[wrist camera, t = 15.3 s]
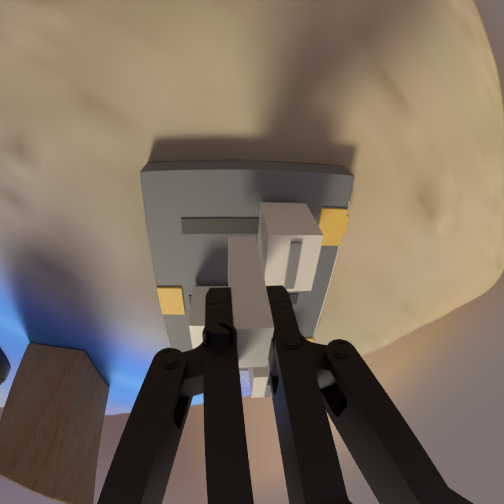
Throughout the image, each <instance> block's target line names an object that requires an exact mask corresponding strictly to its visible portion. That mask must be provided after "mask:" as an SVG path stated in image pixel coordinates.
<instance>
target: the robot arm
mask: <svg viewBox="0 0 504 504" xmlns="http://www.w3.org/2000/svg"><path fill="white" fill-rule="evenodd" d="M228 284H229V287H219V288H210V289H209V290H208V292H207V293H206V297H205V327H204V328H203V332H202V338H203V342H202V343H201V344H200V345H199V346H198V347H196V348H194V349H192V350H189V351H185V352H181V351H180V350H178V349H175V348H166V349H162V350H161V351H159V352H158V353H157V354H156V355H155V356H154V358H153V360H152V363H151V365H150V367H149V370H148V372H147V374H146V377H145V379H144V382H143V384H142V386H141V389H140V391H139V394H138V396H137V398H136V401H135V403H134V406H133V408H132V411H131V413H130V416H129V418H128V421H127V423H126V426H125V429H124V431H123V434H122V436H121V439H120V442H119V444H118V447H117V450H116V452H115V455H114V458H113V460H112V463H111V466H110V469H109V471H108V474H107V477H106V480H105V483H104V485H103V488H102V491H101V494H100V497H99V500H98V503H97V504H162V501H163V497H164V494H165V491H166V487H167V483H168V480H169V476H170V473H171V469H172V465H173V462H174V459H175V455H176V452H177V449H178V445H179V441H180V438H181V434H182V431H183V428H184V424H185V421H186V418H187V414H188V411H189V407H190V404H191V401H192V398H193V396H195V395H198V394H201V393H204V434H205V460H206V480H207V496H208V504H254V501H253V493H252V485H251V478H250V469H249V460H248V451H247V442H246V433H245V424H244V414H243V405H242V394H241V384H240V373H239V368H247V367H265V366H268V361H269V367H270V372H269V377H268V383H267V385H270V387H271V393H272V399H273V405H274V412H275V418H276V424H277V430H278V436H279V442H280V449H281V455H282V461H283V467H284V474H285V480H286V486H287V492H288V498H289V504H352V503H351V502H350V501H349V499H348V497H347V493H346V489H345V485H344V481H343V476H342V472H341V468H340V464H339V460H338V456H337V452H336V448H335V444H334V440H333V436H332V432H331V428H330V424H329V421H328V417H327V413H328V414H329V416H330V418H331V420H332V422H333V423H334V425H335V426H336V429H337V430H338V432H339V434H340V436H341V437H342V439H343V441H344V443H345V444H346V446H347V448H348V450H349V451H350V453H351V455H352V457H353V458H354V460H355V462H356V464H357V465H358V467H359V469H360V471H361V472H362V474H363V475H364V477H365V479H366V481H367V483H368V484H369V486H370V488H371V490H372V491H373V493H374V495H375V496H376V498H377V500H378V502H379V503H380V504H473V503H471V502H470V501H468V500H467V499H465V498H464V497H462V496H460V495H459V494H457V493H456V492H454V491H453V490H451V489H450V488H449V487H448V486H447V484H446V483H445V481H444V480H443V478H442V476H441V475H440V474H439V472H438V470H437V469H436V467H435V465H434V464H433V463H432V461H431V459H430V458H429V456H428V455H427V453H426V452H425V450H424V448H423V447H422V445H421V444H420V442H419V441H418V439H417V438H416V436H415V435H414V433H413V432H412V430H411V429H410V427H409V426H408V424H407V423H406V421H405V420H404V418H403V417H402V416H401V414H400V412H399V411H398V409H397V408H396V406H395V405H394V403H393V402H392V401H391V399H390V398H389V396H388V395H387V393H386V392H385V390H384V389H383V387H382V386H381V384H380V383H379V382H378V380H377V379H376V377H375V376H374V374H373V373H372V372H371V370H370V369H369V367H368V366H367V364H366V363H365V361H364V360H363V359H362V357H361V356H360V354H359V353H358V352H357V350H356V349H355V347H354V346H353V345H352V344H351V343H350V342H348V341H346V340H341V339H337V340H333V341H331V342H329V344H328V345H322V344H317V343H313V342H310V341H308V340H307V339H305V337H304V336H303V335H302V334H301V333H300V330H299V327H298V323H297V320H296V316H295V313H294V309H293V306H292V302H291V299H290V295H289V292H288V291H287V290H286V289H285V288H284V286H283V285H278V286H266V285H265V280H264V275H263V270H262V265H261V261H260V256H259V251H258V246H257V241H256V237H228ZM9 371H10V365H9V362H8V361H7V359H6V357H5V356H4V354H3V353H2V352H1V351H0V385H1V384H2V383H3V382H4V381H5V380H6V379H7V376H8V374H9ZM326 411H327V413H326Z"/></svg>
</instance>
